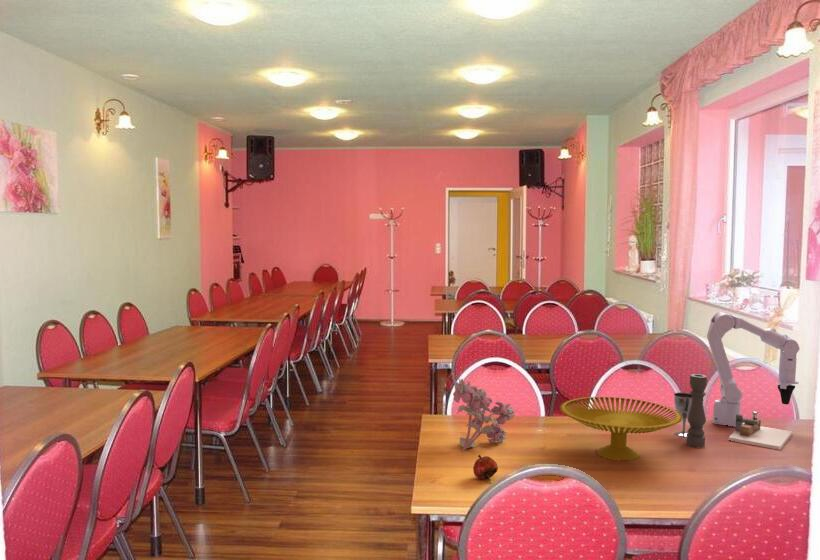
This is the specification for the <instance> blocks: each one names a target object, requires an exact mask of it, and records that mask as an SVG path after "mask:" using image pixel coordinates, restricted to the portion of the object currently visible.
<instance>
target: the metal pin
mask: <svg viewBox="0 0 820 560" xmlns="http://www.w3.org/2000/svg"><path fill="white" fill-rule="evenodd" d="M751 414H752V419H753V420H757V419H758V415H759V414H760V412H759V411H755V410H753V411H751Z"/></svg>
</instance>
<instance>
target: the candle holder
mask: <svg viewBox="0 0 820 560" xmlns="http://www.w3.org/2000/svg"><path fill="white" fill-rule="evenodd" d="M689 385H690V388H691V391H689V393H690V394H691V396H692V404H691V407H690V411H689V414H688V418H687V420H686V421H687V422H688V424H689V428H688V429H687V432H688V434H687V437H685V438H686V439H685V440H686V446H688V445H689V447H691V446H693V447H692V448H696V447H701V448H704V447H703V446H705V444H706V443H705V442H706V436H705V434H706V433H705V431H704V429H703V428H704V425H705V424H706V420H707V418H706V413H705V408H704V407H705V406H704V397H706V395H707V394H706V393H707V392H705V390H706V388H707V386H708V376H707V375H705V374H699V373H690V375H689Z"/></svg>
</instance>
